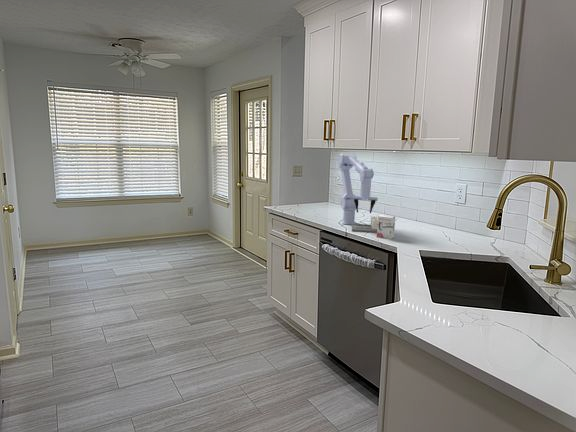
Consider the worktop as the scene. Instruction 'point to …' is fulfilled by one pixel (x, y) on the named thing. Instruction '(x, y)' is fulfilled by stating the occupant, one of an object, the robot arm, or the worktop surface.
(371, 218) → the far fader knob
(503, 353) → the worktop surface
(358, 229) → the console
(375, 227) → the near fader knob
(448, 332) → the worktop surface
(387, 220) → the ink box
